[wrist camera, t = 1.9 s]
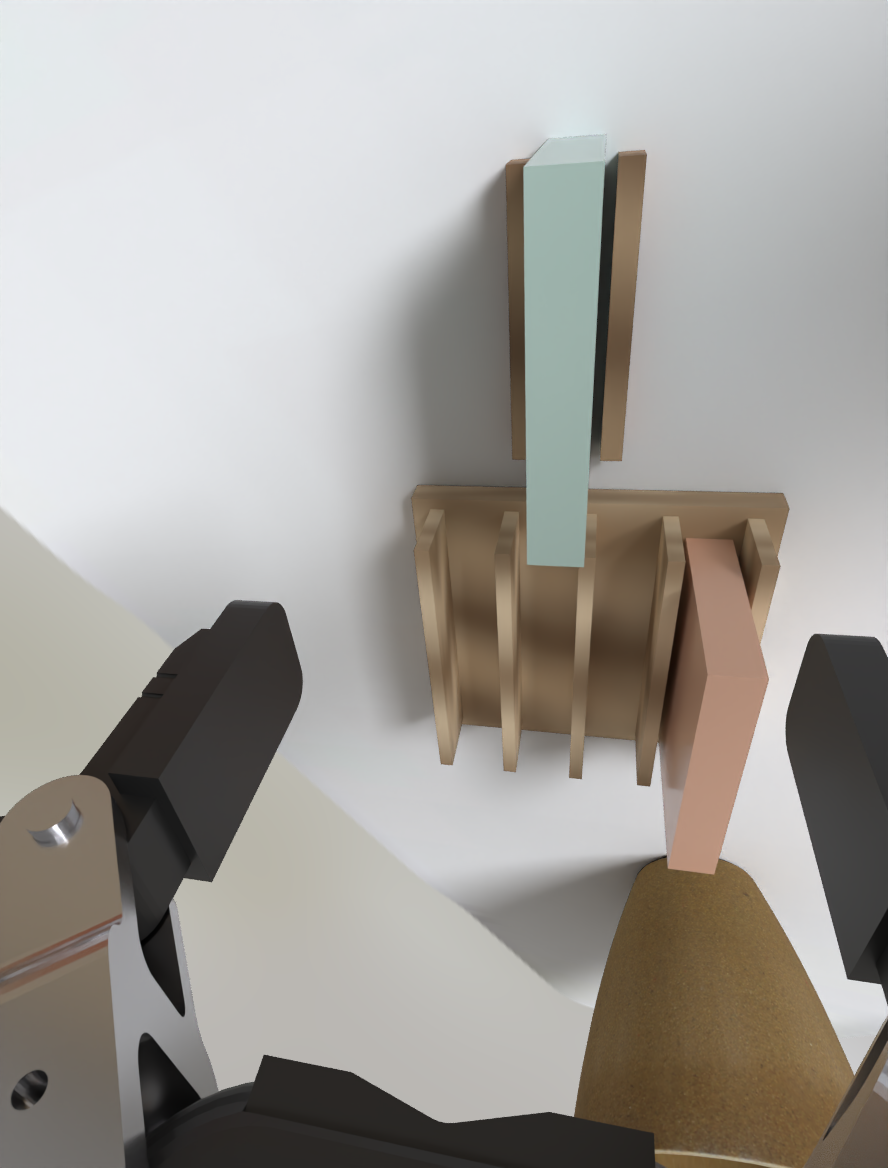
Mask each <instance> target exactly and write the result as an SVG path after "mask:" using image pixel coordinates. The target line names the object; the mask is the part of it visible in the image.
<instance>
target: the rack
mask: <svg viewBox="0 0 888 1168" xmlns="http://www.w3.org/2000/svg"><path fill="white" fill-rule="evenodd" d="M411 500H412V508H413V516H414V524H415V533H416V541H417V544H416V546H415V548H414V557H415V564H416V572H417V580H418V588H419V596H420V604H421V612H422V620H423V627H424V635H425V643H426V651H427V659H428V667H429V675H430V683H431V690H432V698H433V706H434V714H435V722H436V730H437V738H438V746H439V753H440V761H441V764H445V765H453V761H454V756H455V752H456V748H457V743H458V739H459V734H460V730H461V726H462V724H466V725H477V726H487V727H498V728H502V741H503V765H504V771H510V772H516V767H517V760H518V752H519V745H520V738H521V730H530V731H541V732H551V733H562V734H571V748H570V770H569V778H576V779H582V766H583V750H584V736H594V737H604V738H615V739H626V740H635V742H636V769H637V785H641V786H650V784H651V778H652V771H653V765H654V759H655V752H656V746H657V742H658V743H659V737H658V733H659V727H660V721H661V714H662V708H663V702H664V695H665V689H666V683H667V676H668V670H669V664H670V657H671V651H672V645H673V638H674V632H675V626H676V619H677V613H678V607H679V600H680V594H681V588H682V581H683V575H684V569H685V562H686V561H685V555H684V547H685V541H686V538H701V539H729V540H733V542H734V546H735V550H736V554H737V557H738V561H739V565H740V569H741V573H742V577H743V581H744V585H745V588H746V592H747V596H748V600H749V604H750V608H751V612H752V616H753V619H754V623H755V627H756V631H757V635H758V639H759V643H761V639H762V635H763V631H764V627H765V623H766V620H767V616H768V612H769V608H770V604H771V600H772V596H773V593H774V589H775V585H776V581H777V577H778V573H779V569H780V563H779V560H778V557H777V556H778V552H779V548H780V544H781V540H782V536H783V532H784V528H785V524H786V520H787V516H788V512H789V506H788V504H787V501H786V499H785V496H784V494H783V493H748V492H704V491H659V490H614V489H588V502H587V521H586V540H585V558H584V567H564V566H542V565H527V505H526V488H525V487H480V486H436V485H417V487H416V489H415V492H414V494H413V496H412V498H411Z"/></svg>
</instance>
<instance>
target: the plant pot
mask: <svg viewBox="0 0 888 1168" xmlns="http://www.w3.org/2000/svg"><path fill="white" fill-rule="evenodd" d="M853 1077H854V1074H853V1071H852V1069H851V1067H850V1064H849V1062H848V1060H847V1058H846V1055H845V1053H844V1051H843V1049H842V1047H841V1044H840V1042H839V1040H838V1038H837V1035H836V1033H835V1031H834V1029H833V1027H832V1024H831V1022H830V1020H829V1018H828V1016H827V1014H826V1011H825V1009H824V1007H823V1005H822V1003H821V1001H820V999H819V997H818V995H817V993H816V991H815V989H814V987H813V985H812V983H811V981H810V979H809V977H808V975H807V973H806V971H805V969H804V967H803V965H802V963H801V961H800V959H799V958H798V956H797V954H796V952H795V950H794V948H793V946H792V945H791V943H790V941H789V939H788V937H787V936H786V934H785V932H784V930H783V928H782V927H781V925H780V923H779V922H778V920H777V918H776V916H775V915H774V913H773V911H772V910H771V908H770V906H769V905H768V903H767V901H766V900H765V898H764V896H763V895H762V893H761V891H760V890H759V888H758V887H757V885H756V884H755V882H754V880H753V879H752V878H751V877H750V876H749V875H748V874H747V873H746V872H745V871H744V870H742V869H741V868H739V867H738V866H736V865H734V864H731V863H729V862H726V861H723V860H720V859H718V863H717V866H716V870H715V873H714V874H706V873H698V872H690V871H683V870H675V869H668V863H667V858H663V859H659V860H657V861H654V862H652V863H650V864H648V865H646V866H645V867H644V868H643V869H642V870H641V871H640V872H639V873H638V875H637V877H636V879H635V882H634V884H633V887H632V889H631V892H630V894H629V897H628V899H627V902H626V904H625V907H624V910H623V913H622V915H621V918H620V921H619V924H618V927H617V930H616V933H615V936H614V939H613V942H612V946H611V949H610V952H609V955H608V959H607V962H606V966H605V969H604V973H603V977H602V981H601V984H600V988H599V992H598V996H597V1000H596V1004H595V1009H594V1013H593V1017H592V1022H591V1027H590V1032H589V1037H588V1041H587V1047H586V1051H585V1056H584V1061H583V1066H582V1072H581V1077H580V1083H579V1089H578V1095H577V1101H576V1107H575V1114H574V1117H577V1118H581V1119H586V1120H591V1121H596V1122H601V1123H606V1124H611V1125H616V1126H621V1127H626V1128H631V1129H636V1130H641V1131H646V1132H651V1133H654V1145H655V1161H656V1162H657V1163H659V1164H661V1165H663V1166H665V1167H666V1168H803V1167H804V1165H805V1164H806V1162H807V1160H808V1159H809V1157H810V1155H811V1153H812V1152H813V1150H814V1148H815V1147H816V1145H817V1143H818V1141H819V1139H820V1138H821V1136H822V1134H823V1132H824V1130H825V1128H826V1127H827V1125H828V1123H829V1121H830V1119H831V1117H832V1116H833V1114H834V1112H835V1110H836V1108H837V1107H838V1105H839V1103H840V1101H841V1099H842V1097H843V1096H844V1094H845V1092H846V1090H847V1088H848V1086H849V1085H850V1083H851V1081H852V1079H853Z"/></svg>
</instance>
